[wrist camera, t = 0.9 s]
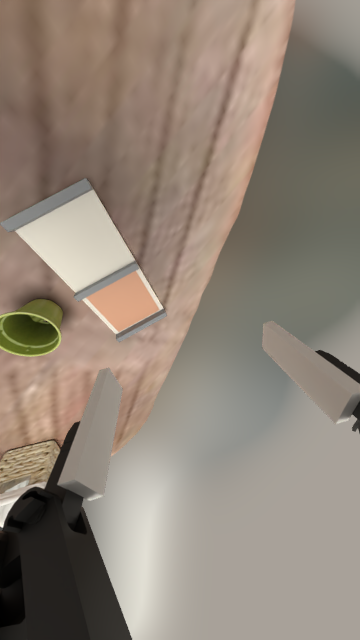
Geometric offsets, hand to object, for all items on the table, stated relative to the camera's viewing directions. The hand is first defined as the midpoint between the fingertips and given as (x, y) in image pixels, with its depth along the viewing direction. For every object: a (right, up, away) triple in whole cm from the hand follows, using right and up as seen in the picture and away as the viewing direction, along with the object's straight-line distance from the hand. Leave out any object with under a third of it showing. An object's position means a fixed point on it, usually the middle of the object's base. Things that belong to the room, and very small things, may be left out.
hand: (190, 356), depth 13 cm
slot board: (-16, +12, +20) cm, 29 cm away
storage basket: (-55, -50, +48) cm, 89 cm away
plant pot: (-30, +5, +20) cm, 36 cm away
